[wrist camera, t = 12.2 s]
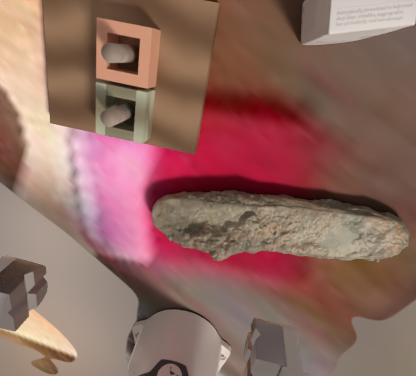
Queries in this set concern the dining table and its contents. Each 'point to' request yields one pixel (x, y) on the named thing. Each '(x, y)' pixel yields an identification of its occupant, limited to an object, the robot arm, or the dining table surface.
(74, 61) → the wooden peg board
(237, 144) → the dining table surface
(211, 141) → the dining table surface
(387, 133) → the dining table surface
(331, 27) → the skincare box
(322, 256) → the long grey stone
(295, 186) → the dining table surface
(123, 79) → the chunky salmon square frame
